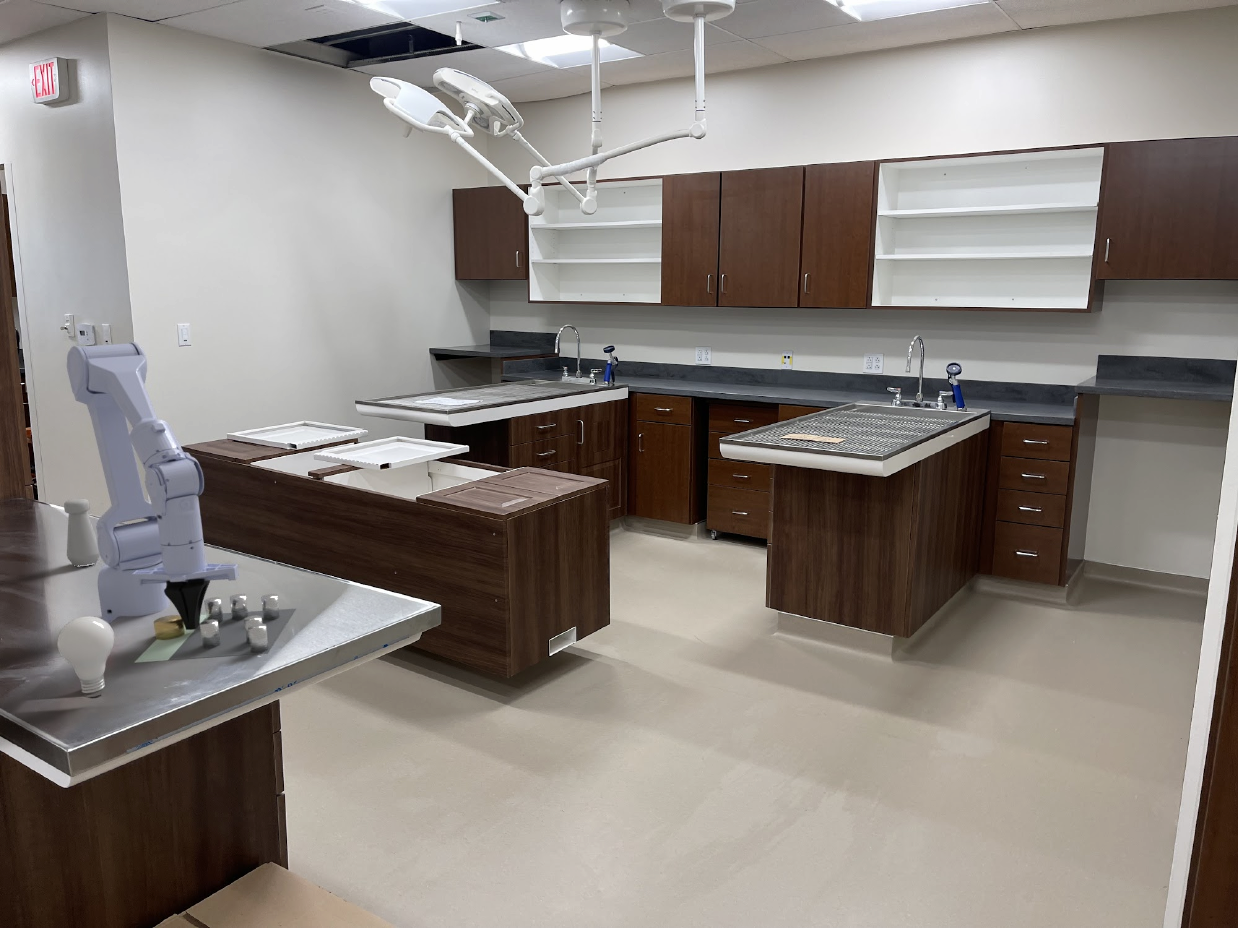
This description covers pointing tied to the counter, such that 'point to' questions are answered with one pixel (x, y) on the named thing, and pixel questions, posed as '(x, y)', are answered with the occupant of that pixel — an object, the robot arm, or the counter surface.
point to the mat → (229, 639)
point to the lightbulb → (87, 650)
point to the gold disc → (169, 627)
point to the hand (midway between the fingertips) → (192, 627)
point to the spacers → (239, 611)
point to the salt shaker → (80, 533)
